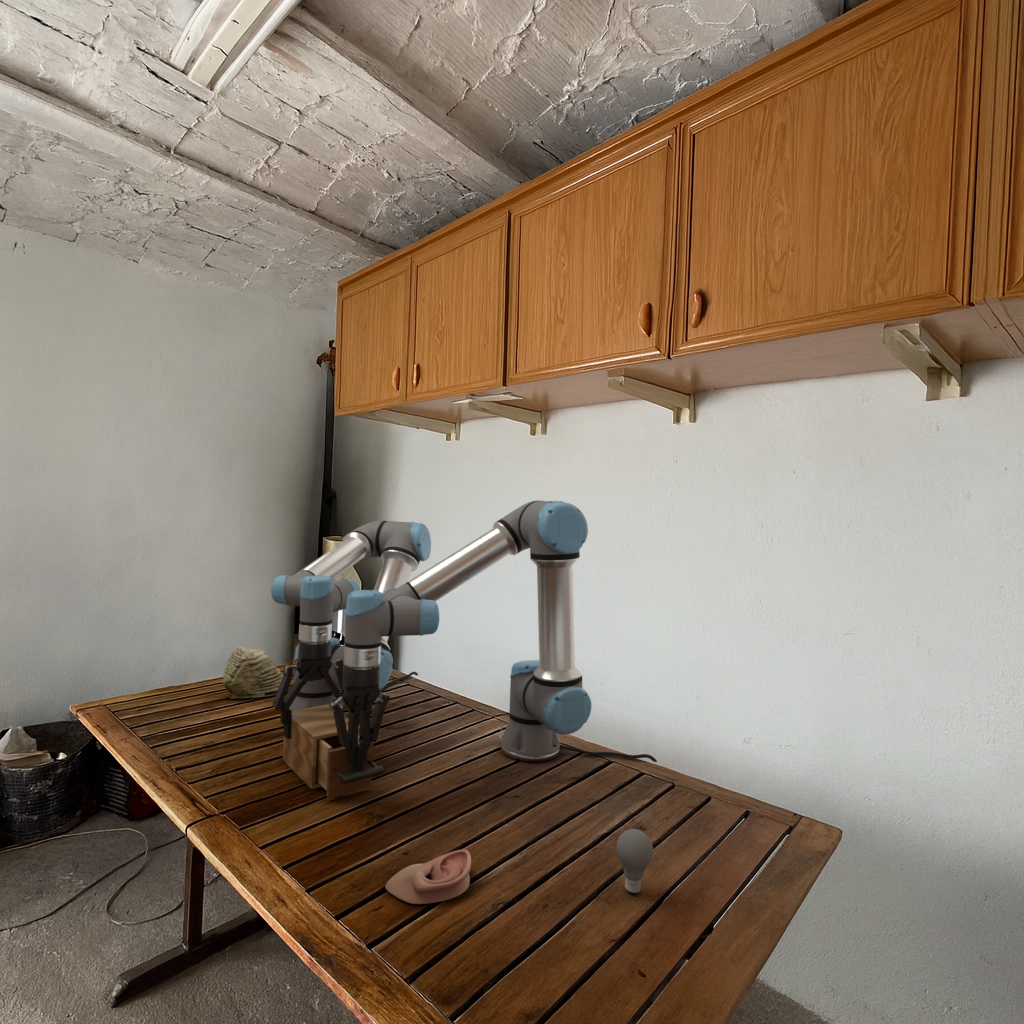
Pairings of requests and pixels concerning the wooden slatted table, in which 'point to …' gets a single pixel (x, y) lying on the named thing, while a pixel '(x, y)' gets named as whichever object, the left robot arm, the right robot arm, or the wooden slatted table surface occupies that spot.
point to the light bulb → (634, 857)
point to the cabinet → (308, 740)
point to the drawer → (342, 768)
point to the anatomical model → (432, 879)
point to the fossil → (251, 674)
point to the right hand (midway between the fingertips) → (356, 777)
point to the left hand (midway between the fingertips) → (311, 732)
